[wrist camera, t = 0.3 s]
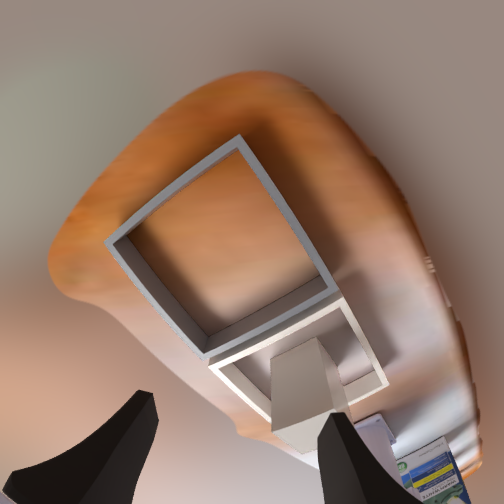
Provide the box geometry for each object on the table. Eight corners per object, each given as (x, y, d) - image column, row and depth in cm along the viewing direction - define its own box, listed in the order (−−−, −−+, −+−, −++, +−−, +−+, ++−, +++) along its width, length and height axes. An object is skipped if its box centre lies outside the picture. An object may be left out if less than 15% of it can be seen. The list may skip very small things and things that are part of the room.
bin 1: (331, 275, 17) (339, 289, 16) (207, 344, 20) (202, 361, 18) (242, 137, 15) (239, 133, 13) (117, 233, 17) (103, 242, 15)
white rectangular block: (337, 366, 20) (356, 433, 14) (294, 386, 21) (301, 454, 14) (316, 336, 19) (334, 408, 13) (270, 359, 20) (271, 432, 13)
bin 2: (382, 369, 20) (389, 384, 18) (281, 416, 22) (282, 432, 21) (335, 282, 18) (343, 296, 16) (212, 349, 20) (208, 366, 18)
